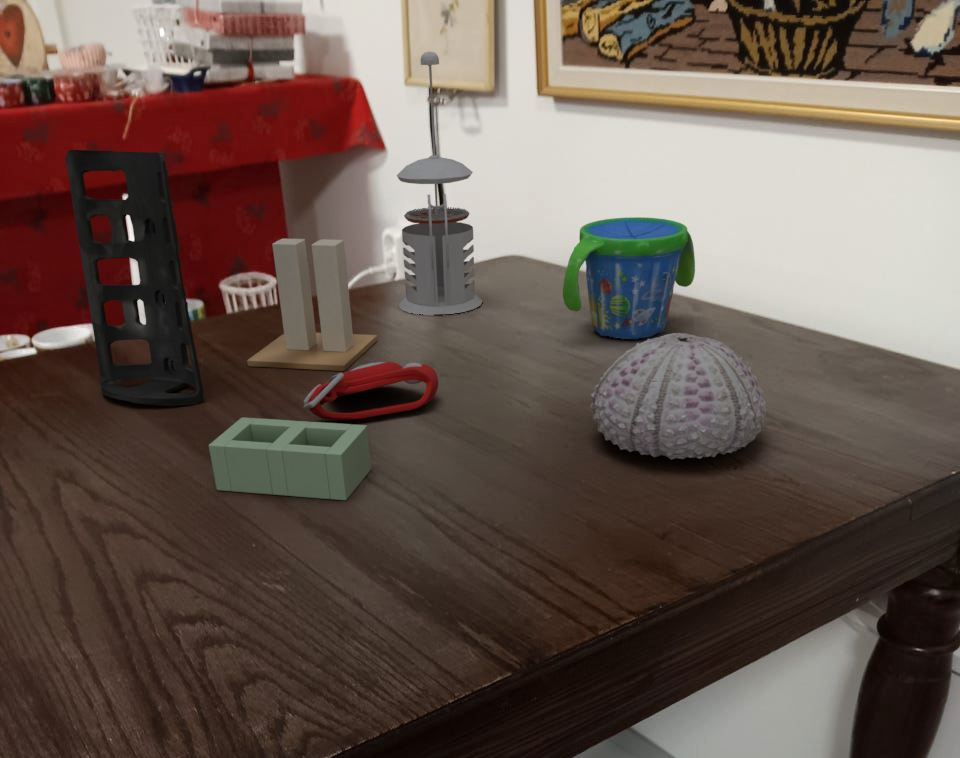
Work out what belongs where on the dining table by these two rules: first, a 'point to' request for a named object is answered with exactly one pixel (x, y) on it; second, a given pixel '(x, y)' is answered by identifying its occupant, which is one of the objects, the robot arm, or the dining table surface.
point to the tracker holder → (370, 379)
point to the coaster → (311, 355)
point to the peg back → (295, 293)
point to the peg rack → (291, 458)
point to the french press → (437, 237)
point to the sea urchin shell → (679, 399)
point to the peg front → (333, 295)
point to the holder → (156, 272)
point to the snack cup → (630, 273)
